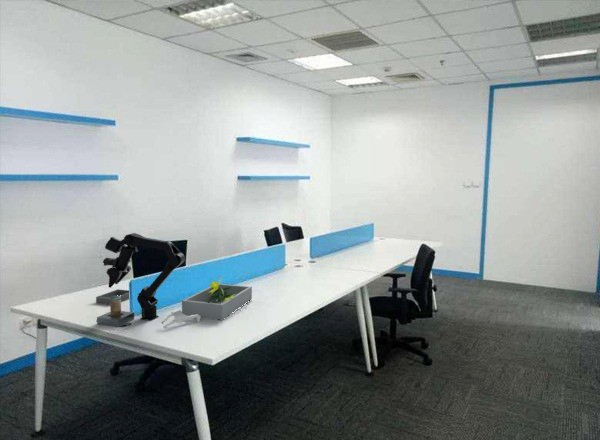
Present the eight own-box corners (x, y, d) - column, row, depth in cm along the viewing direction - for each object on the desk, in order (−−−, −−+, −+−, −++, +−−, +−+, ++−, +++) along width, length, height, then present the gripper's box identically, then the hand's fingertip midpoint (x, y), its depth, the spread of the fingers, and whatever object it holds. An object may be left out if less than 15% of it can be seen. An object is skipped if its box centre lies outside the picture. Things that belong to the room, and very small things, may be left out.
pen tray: (134, 296, 255) (134, 291, 255) (114, 305, 238) (113, 298, 237) (117, 294, 258) (117, 289, 258) (96, 303, 241) (96, 296, 241)
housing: (134, 319, 214) (134, 312, 214) (118, 327, 203) (117, 319, 203) (114, 316, 218) (114, 310, 217) (97, 324, 206) (96, 317, 206)
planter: (251, 300, 252) (251, 286, 252) (222, 320, 215) (222, 305, 214) (216, 296, 258) (216, 283, 258) (181, 315, 221) (181, 300, 220)
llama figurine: (169, 339, 205) (202, 319, 214) (160, 320, 201) (193, 300, 210) (168, 338, 206) (200, 318, 215) (159, 319, 203) (192, 299, 212)
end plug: (123, 320, 212) (123, 296, 211) (116, 323, 207) (116, 298, 206) (115, 319, 213) (114, 295, 212) (108, 322, 209) (107, 297, 207)
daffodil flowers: (235, 300, 254) (242, 301, 220) (213, 312, 250) (216, 315, 216) (223, 275, 255) (227, 272, 221) (200, 286, 250) (201, 285, 217)
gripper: (115, 249, 223) (104, 276, 223) (102, 253, 204) (89, 283, 204) (136, 257, 224) (124, 284, 224) (124, 261, 205) (112, 291, 205)
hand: (112, 285), depth 214 cm, fingers open, 9 cm apart
